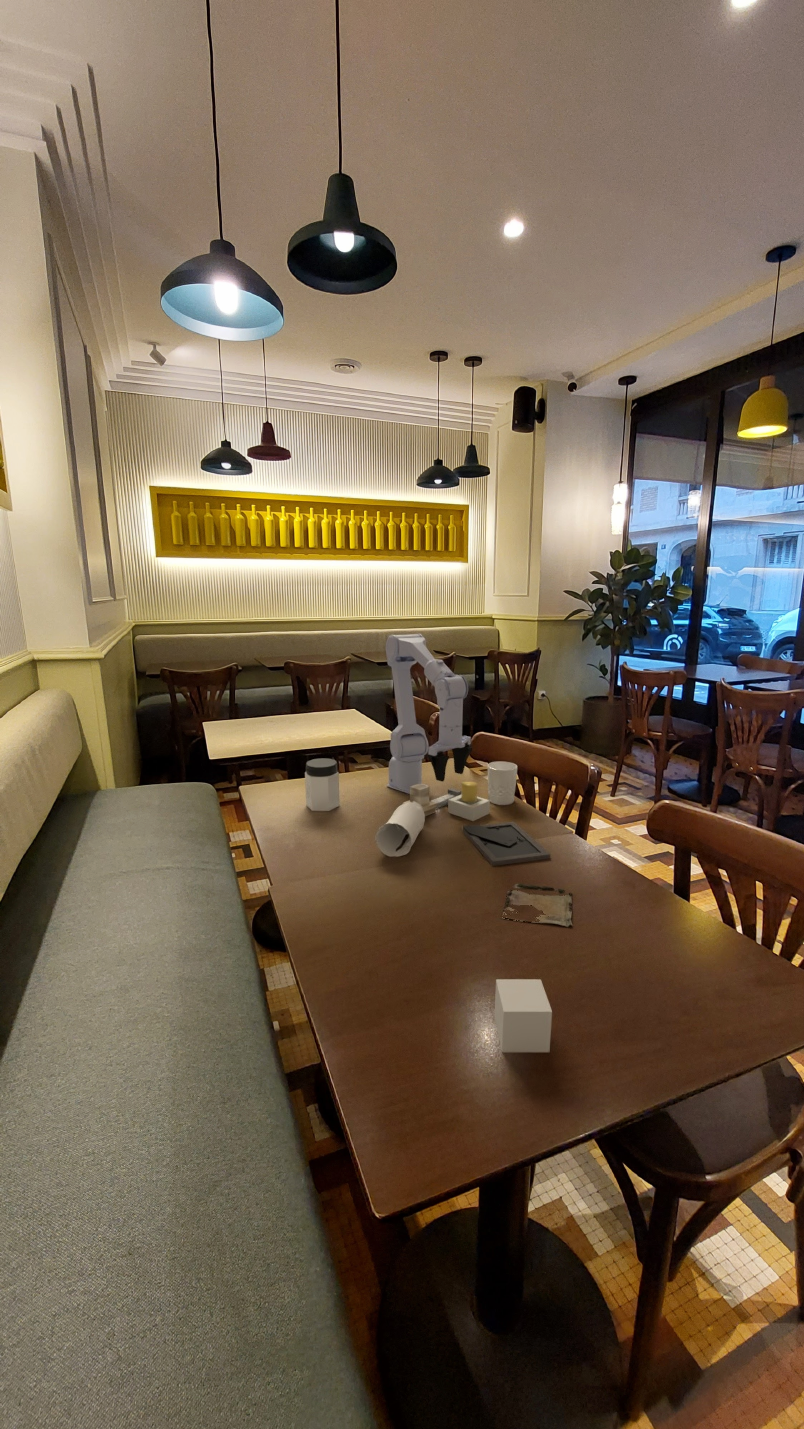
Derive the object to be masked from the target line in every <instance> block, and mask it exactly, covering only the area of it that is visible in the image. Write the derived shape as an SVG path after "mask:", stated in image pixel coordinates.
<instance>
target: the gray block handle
mask: <svg viewBox="0 0 804 1429" xmlns="http://www.w3.org/2000/svg"><path fill="white" fill-rule="evenodd" d="M461 792H462V790H458V789H456V788H452V787H451V788H448V789H447V794H444V795H441V796H439V797H437V798H434V799H431V800H430V801H432V802H435V803H437V807H436V810H437V809H439V808H443V807H444V806H447V805H448V800H449V799H451V798H454V797H456V796H459V795H461Z"/></svg>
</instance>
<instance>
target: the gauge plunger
mask: <svg viewBox="0 0 804 1429" xmlns="http://www.w3.org/2000/svg"><path fill="white" fill-rule="evenodd" d="M461 791H462V792H461V799H462V800H463V801H466V802H474V801H476V800H477V797H478V783H477V782H475V781H462V782H461Z"/></svg>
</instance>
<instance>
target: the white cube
mask: <svg viewBox="0 0 804 1429" xmlns="http://www.w3.org/2000/svg"><path fill="white" fill-rule="evenodd" d="M552 1018H553V1011H552V1007H551V1004H550V1001H549V999H548V996H547V992H546V991H545V988H544V985H543V982H542V979H535V978H533V979H529V978H528V979H525V978H524V979H523V978H521V979H520V978H515V979H510V978H509V979H507V978H506V979H505V978H504V979H500V978H499V979H495V996H494V1022H495V1027H496V1031H497V1035H498V1040H499V1044H500V1050H501V1053H550V1049H551V1047H550V1046H551V1035H552V1034H551V1033H552V1032H551V1031H552Z"/></svg>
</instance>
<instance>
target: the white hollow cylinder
mask: <svg viewBox="0 0 804 1429" xmlns="http://www.w3.org/2000/svg"><path fill="white" fill-rule="evenodd" d="M390 816H391V817H390V818H389V819H388V821H387V822H386V823H384V824H383V825H382V826H379V827H378V830H377V832H376V833H375V837H374V840H375V842H376V846H377V847H378V850H380V851H381V852H382V854H384V855H385V856H388V857H397V858H399V857H401V856H405V855H407V854H408V853H409V852H410V851H411V847H412V846H413V845H414V843H415V841H416V839H417V837H418V836H419V834H420V832H421V831H422V830H423V829H424V825H425V822H426V821H425V818H426V816H425V814H424V811H423V807H422V806H421V805H420V804H418V803H417V802H415V801H413V802H408V803H405V804H400V805H399V806H398V807H397V808H396V809H395V810H394V811H393V813H392V815H390ZM406 835H407V836H408V838H407V839H406V840H405V843H403V840H404V839H405V837H406ZM402 843H403V845H402ZM401 845H402V846H401ZM400 846H401V848H399V847H400ZM398 848H399V849H398Z"/></svg>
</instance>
